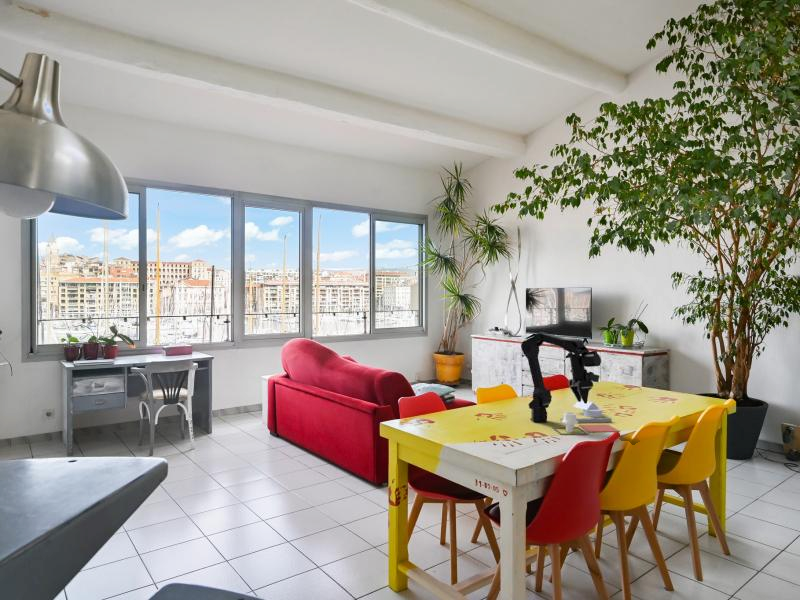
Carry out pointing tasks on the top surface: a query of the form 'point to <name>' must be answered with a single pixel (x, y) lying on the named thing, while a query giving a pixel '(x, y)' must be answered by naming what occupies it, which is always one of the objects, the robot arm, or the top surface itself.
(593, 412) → the wedge on round base
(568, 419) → the pipe fitting
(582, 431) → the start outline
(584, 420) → the rail
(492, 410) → the top surface
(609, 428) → the pad
